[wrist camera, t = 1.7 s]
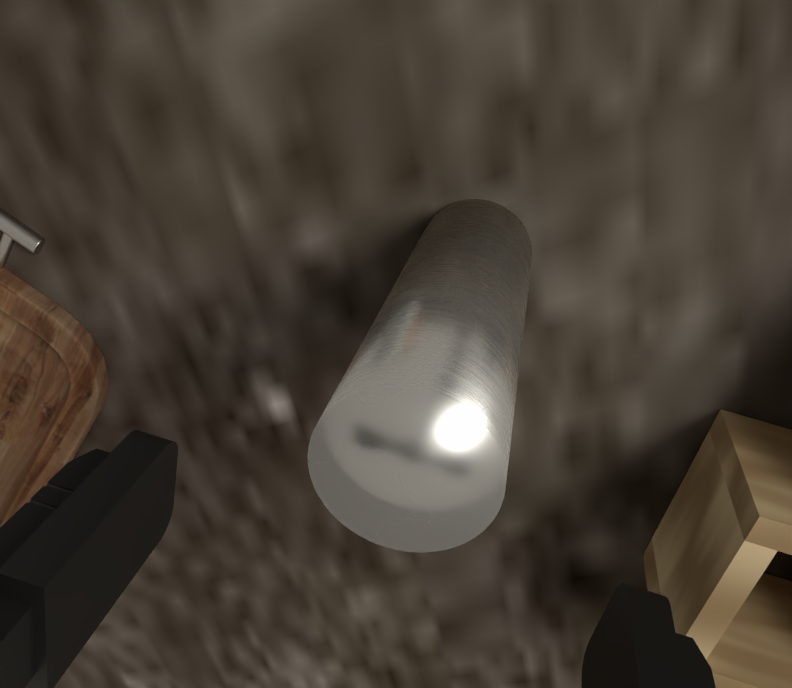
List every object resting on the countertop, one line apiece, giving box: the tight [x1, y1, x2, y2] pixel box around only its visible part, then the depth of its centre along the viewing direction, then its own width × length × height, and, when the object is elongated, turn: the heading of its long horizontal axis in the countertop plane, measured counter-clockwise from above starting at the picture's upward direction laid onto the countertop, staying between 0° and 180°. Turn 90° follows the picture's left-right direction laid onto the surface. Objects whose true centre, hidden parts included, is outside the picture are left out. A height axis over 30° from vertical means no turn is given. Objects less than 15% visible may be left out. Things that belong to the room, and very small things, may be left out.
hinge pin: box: [308, 199, 532, 552], centre depth 20 cm, size 4×4×13 cm
